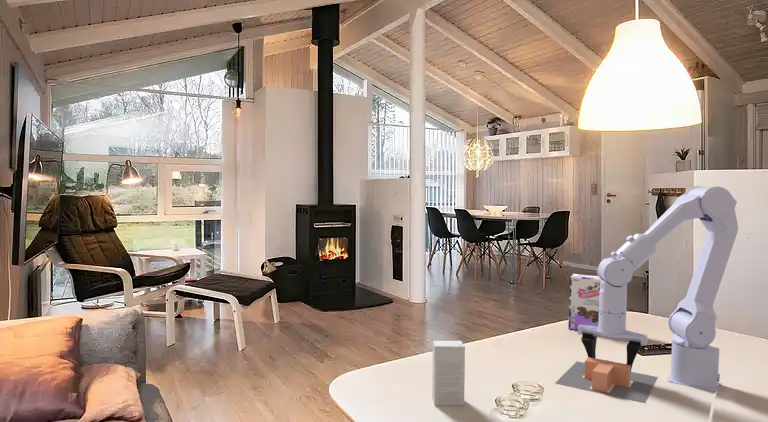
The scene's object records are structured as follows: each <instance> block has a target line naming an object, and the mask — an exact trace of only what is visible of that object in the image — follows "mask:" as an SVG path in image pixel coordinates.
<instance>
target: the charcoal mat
mask: <svg viewBox="0 0 768 422" xmlns="http://www.w3.org/2000/svg"><path fill="white" fill-rule="evenodd" d="M584 376H585V362H581V361H575V362H574V363H573V364H572V366H570V368H569V369H568V370H566V371H565V373H563V375H562V376H560V377H559V378H558V379H557V380H556V381H555V382H554V384H555V385H561V386H565V387H570V388H574V389H579V390H583V391H588V392H592V393H597V394H600V395H606V396H611V397H615V398H619V399H622V400H623V399H624V400H628V401H632V402H638V403H641V404H646V402H647V400H648V399H649V396H650V394H651V391H652V389H653V387H654V386H655V383H656V381H657V380H658V376H656V375H650V374H644V373H639V372H634V371H631V373H630V384H629V385H628V387H625V386H620V385H615V384H612V386H611V387H610V388H609V390H608V391H607V393H606V392H602V391H597V390H593V389H592V379H587V378H584Z"/></svg>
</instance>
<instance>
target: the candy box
mask: <svg viewBox="0 0 768 422" xmlns="http://www.w3.org/2000/svg"><path fill="white" fill-rule="evenodd" d="M569 280H570V281H569V303H568V308H569V309H568V324H567V325H568V330H574V331H578V326H579V325H580V324H581V325H590V326H598V323H599V296H600V277H599V276H598V275H589V274H576V273H572V275H570V279H569Z"/></svg>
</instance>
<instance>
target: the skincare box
mask: <svg viewBox="0 0 768 422" xmlns="http://www.w3.org/2000/svg"><path fill="white" fill-rule="evenodd" d="M465 351H466V346H465V345H464V343H463V341H462V340H432V388H431V389H432V395H431V396H432V401H433V403H434V404H433V405H434V406H436V407H437V406H441V407H442V406H464V405H465V375H466V374H465V371H466V370H465V367H466V364H465V362H466V359H465V358H466V357H465V356H466V353H465Z"/></svg>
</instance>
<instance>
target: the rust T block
mask: <svg viewBox="0 0 768 422" xmlns="http://www.w3.org/2000/svg"><path fill="white" fill-rule="evenodd" d="M584 363H585V376H584V378H587V379H592V389H593V390H597V391H602V392H606V393H607V391H608V390H609V388H610V387H611V386H612V384H615V385H620V386H625V387H628V385H629V384H630V372H632V369H631V365H628V364H627V363H622V362H617V361H611V360H606V359H600V358H591V357H588V356H587V358H586V359H585V360H584Z"/></svg>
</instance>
